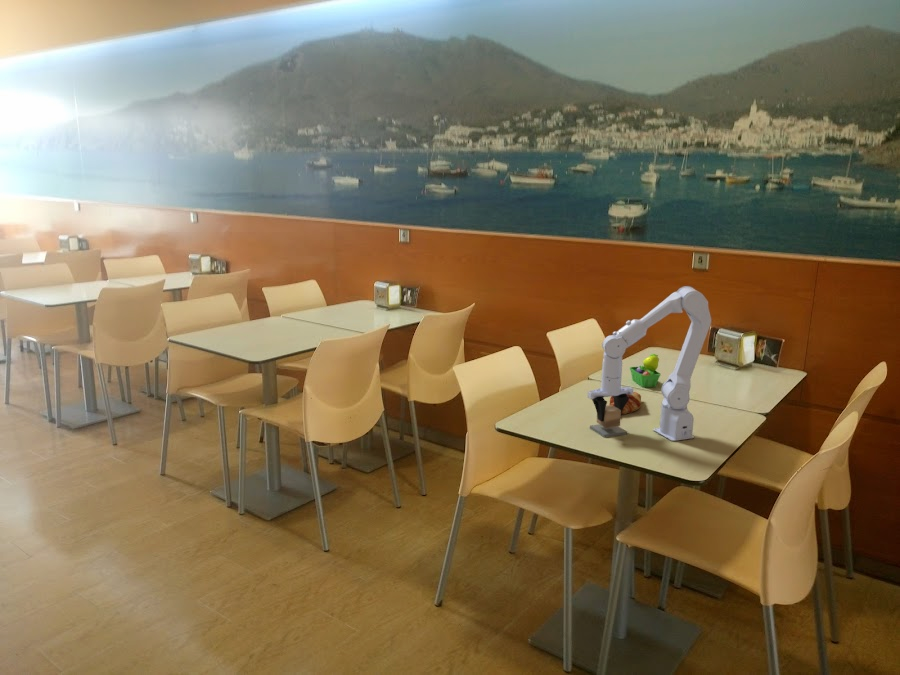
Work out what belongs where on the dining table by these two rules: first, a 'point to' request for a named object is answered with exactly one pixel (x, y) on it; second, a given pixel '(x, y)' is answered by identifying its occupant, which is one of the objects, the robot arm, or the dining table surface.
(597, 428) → the slate coaster
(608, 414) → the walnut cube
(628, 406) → the croissant
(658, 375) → the fruit basket
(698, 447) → the dining table surface
